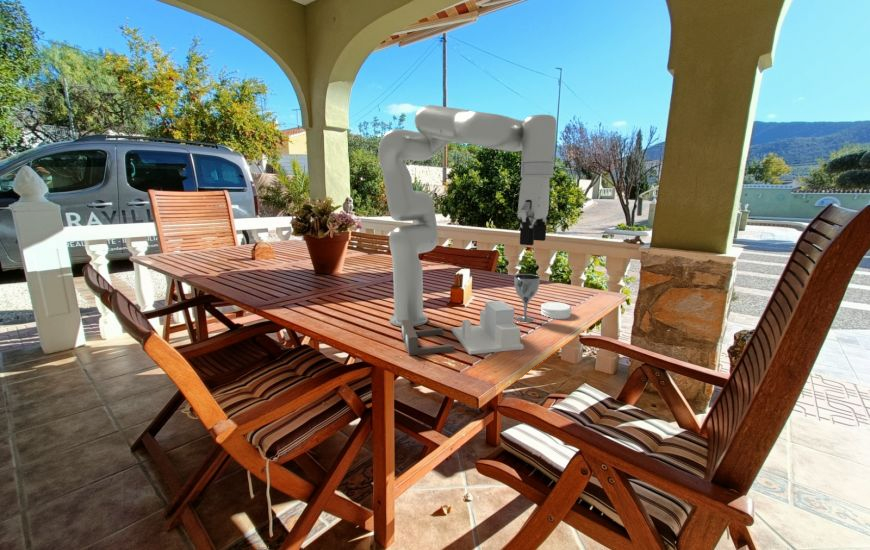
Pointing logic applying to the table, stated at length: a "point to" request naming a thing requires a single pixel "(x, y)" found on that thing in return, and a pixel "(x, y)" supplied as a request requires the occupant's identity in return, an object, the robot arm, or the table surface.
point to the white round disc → (556, 310)
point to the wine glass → (526, 291)
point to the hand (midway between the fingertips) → (533, 242)
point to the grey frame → (412, 340)
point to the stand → (490, 330)
